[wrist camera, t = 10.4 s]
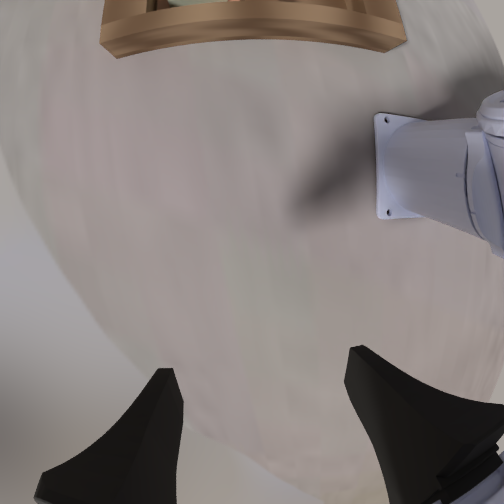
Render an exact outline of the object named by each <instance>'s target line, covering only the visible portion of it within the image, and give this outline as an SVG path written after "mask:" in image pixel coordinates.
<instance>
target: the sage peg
mask: <svg viewBox="0 0 504 504" xmlns="http://www.w3.org/2000/svg"><path fill="white" fill-rule="evenodd" d="M226 1H228V0H168V3H169V6H170V8H173V7H179V6H186V5H193V4H202V3H212V2H226Z"/></svg>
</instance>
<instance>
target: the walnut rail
mask: <svg viewBox="0 0 504 504" xmlns="http://www.w3.org/2000/svg"><path fill="white" fill-rule="evenodd" d="M242 39H283V40H301V41H313V42H323V43H331V44H339V45H346V46H352V47H358V48H363V49H368V50H373V51H378V52H382V53H385V52H387V51H389V50H391V49H393V48H394V47H396V46H398V45H400V44H402V43H404V42H406V41H407V40H406V35H405V31H404V28H403V24H402V20H401V17H400V13H399V10H398V7H397V3H396V0H228V1H226V2H212V3H202V4H193V5H186V6H179V7H173V8H170V6H169V3H168V0H105V4H104V10H103V17H102V24H101V33H100V44H101V45H102V46H103V47H104V48H105V49H106V50H108V51H109V52H110V53H111V54H112V55H113V56H114V57H115V58H117V59H118V58H122V57H126V56H130V55H134V54H138V53H142V52H147V51H151V50H156V49H161V48H167V47H173V46H179V45H186V44H193V43H202V42H211V41H224V40H242Z"/></svg>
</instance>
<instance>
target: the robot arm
mask: <svg viewBox="0 0 504 504" xmlns="http://www.w3.org/2000/svg"><path fill="white" fill-rule="evenodd" d="M384 118H386V119H387V123H386V122H385V120H384ZM374 129H375V145H376V175H377V203H376V214H377V216H378V217H379V218H380V219H397V218H415V217H427V218H430V219H433V220H436V221H438V222H441V223H444V224H446V225H449V226H451V227H454V228H456V229H459V230H461V231H464V232H466V233H469V234H471V235H474V236H476V237H478V238H481V239H483V240H485V241H487V242H488V243H489V244H490V246H491V248H492V253H493V254H495V255H497V256H499V257H501V258H503V259H504V90H501V91H499V92H496V93H494V94H491V95H490V96H488V97H486V98H485V99H484V100H483V101H482V103H481V106H480V108H479V109H478V111H477V113H476V118H458V119H444V120H433V121H427V120H422V119H417V118H411V117H405V116H399V115H392V114H385V113H377V114H375V116H374ZM388 209H389V211H390V212H389V214H388V215H387V210H388ZM344 384H345V387H346V390H347V393H348V395H349V398H350V401H351V403H352V405H353V407H354V409H355V411H356V413H357V415H358V417H359V418H360V420H361V422H362V424H363V426H364V428H365V430H366V432H367V434H368V436H369V438H370V440H371V442H372V444H373V447H374V449H375V452H376V455H377V458H378V461H379V464H380V467H381V470H382V474H383V477H384V481H385V484H386V488H387V493H388V497H389V502H390V504H504V451H503V452H502V453H501V454H500V455H498V454H497V452H496V451H497V450H498V449H499V447H498V445H497V444H496V442H497V441H498V440H499V439H500V438H501V436H502V435H503V434H504V405H503V404H494V403H484V402H478V401H473V400H469V399H465V398H461V397H457V396H454V395H451V394H448V393H445V392H443V391H440V390H438V389H435V388H433V387H431V386H429V385H427V384H425V383H422V382H421V381H419V380H417V379H415V378H413V377H411V376H410V375H408V374H406V373H405V372H403V371H401V370H400V369H398V368H397V367H395V366H394V365H392V364H391V363H389V362H388V361H386V360H385V359H383V358H382V357H380V356H379V355H377V354H376V353H375V352H373V351H372V350H370V349H369V348H367V347H366V346H364V345H360V346H356V347H351V348H350V351H349V357H348V363H347V368H346V374H345V379H344ZM183 403H184V401H183V398H182V395H181V392H180V389H179V386H178V383H177V380H176V377H175V374H174V370H173V368H158V369H157V370H156V372H155V373H154V375H153V376H152V378H151V379H150V380H149V382H148V383H147V385H146V386H145V387H144V389H143V390H142V392H141V393H140V394H139V396H138V397H137V398H136V400H135V401H134V402H133V403H132V405H131V406H130V407H129V409H128V410H127V411H126V412H125V413H124V414H123V415H122V417H121V418H120V419H119V420H118V421H117V422H116V423H115V424H114V425H113V426H112V427H111V428H110V429H109V430H108V431H107V432H106V433H105V434H104V435H103V436H102V437H100V438H99V439H98V440H97V441H96V442H94V443H93V444H92V445H91V446H89V447H88V448H87V449H85V450H84V451H82V452H81V453H79V454H78V455H76V456H75V457H73V458H71V459H70V460H68V461H66V462H65V463H63V464H61V465H59V466H56V467H54V468H52V469H50V470H48V471H46V472H43V473H42V475H41V478H40V480H39V483H38V486H37V489H36V492H35V495H34V499H35V501H36V502H37V503H38V504H177V503H176V502H177V500H176V469H177V460H178V454H179V447H180V440H181V433H182V426H183Z"/></svg>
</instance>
